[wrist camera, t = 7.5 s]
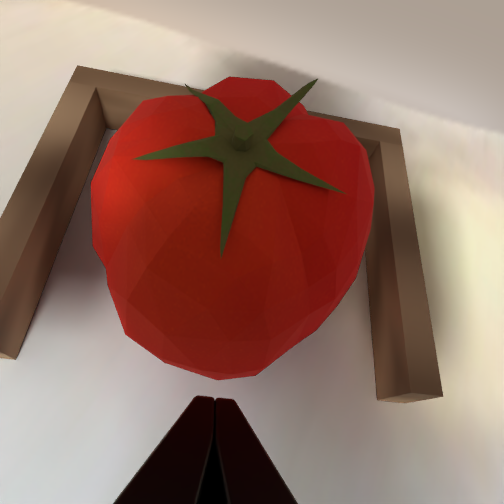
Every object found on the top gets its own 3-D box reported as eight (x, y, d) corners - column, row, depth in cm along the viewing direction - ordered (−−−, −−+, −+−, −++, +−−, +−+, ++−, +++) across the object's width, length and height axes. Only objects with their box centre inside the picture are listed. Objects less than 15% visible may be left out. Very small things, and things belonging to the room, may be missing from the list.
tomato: (322, 198, 19) (407, 47, 12) (326, 406, 14) (476, 369, 7) (144, 168, 18) (117, -17, 11) (83, 381, 13) (-43, 306, 6)
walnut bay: (404, 403, 15) (443, 396, 13) (-20, 355, 13) (-61, 338, 11) (377, 161, 21) (399, 128, 19) (89, 107, 19) (77, 65, 17)
